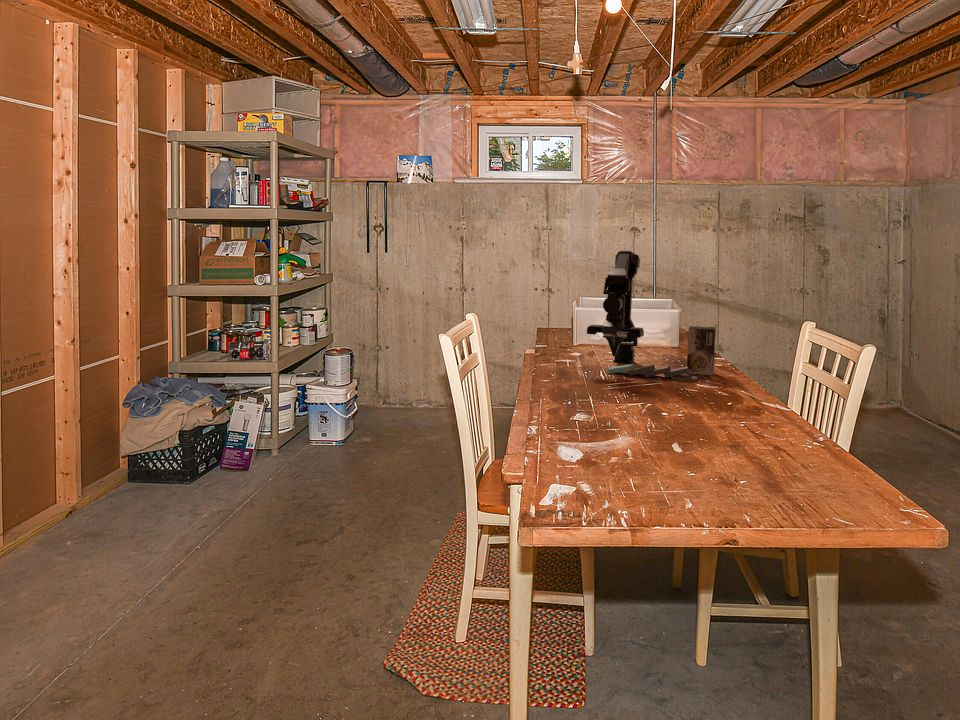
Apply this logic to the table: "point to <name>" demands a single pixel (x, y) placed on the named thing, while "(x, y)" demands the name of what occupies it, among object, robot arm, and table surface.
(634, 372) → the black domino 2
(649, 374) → the black domino
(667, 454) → the table surface
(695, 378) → the black domino
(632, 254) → the robot arm
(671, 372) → the black domino
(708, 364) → the coffee box
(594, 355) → the table surface
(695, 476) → the table surface
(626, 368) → the teal domino
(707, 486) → the table surface
